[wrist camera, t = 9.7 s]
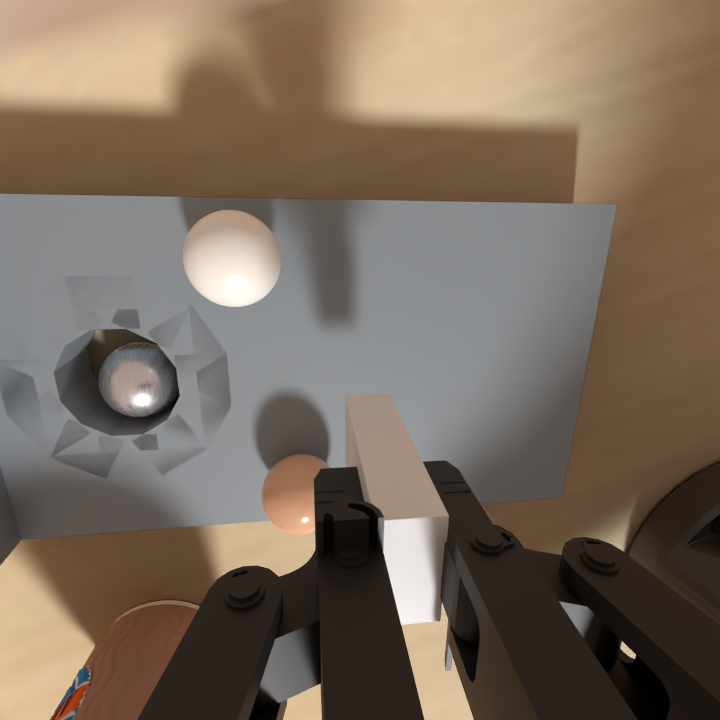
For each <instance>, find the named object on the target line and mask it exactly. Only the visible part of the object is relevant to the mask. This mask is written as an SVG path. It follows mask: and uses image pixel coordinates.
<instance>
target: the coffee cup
mask: <svg viewBox="0 0 720 720" xmlns="http://www.w3.org/2000/svg"><path fill="white" fill-rule="evenodd" d="M199 607H200V606H198V605H195V604H192V603H189V602H183V601H177V600H163V601H155V602H150V603H146V604H143V605H139V606H137V607H135V608H133V609H131V610H128V611H127V612H125V613H124V614H123V615H121V616H120V617H119V618H118V619H117V620H116V621H115V622H114V623H113V624H112V625H111V627H110V628H109V629H108V631H107V632H106V634H105V636H104V637H102V638H101V640H100V641H99V643H97V645H96V646H95V648H94V650H93V651H92V653H91V655H90V656H89V658H88V660H87V661H86V663H85V665H84V666H83V668H82V669H81V670H80V671H79V672H78V674H77V676H76V677H75V679H74V681H73V684H72V686H71V687H70V688H69V689H68V691H67V692H66V694H65V696H64V697H63V699H62V701H61V702H60V704H59V706H58V707H57V709H56V711H55V713H54V714H53V716H52V718H51V719H50V720H137V719H138V717H139V716H140V714H141V712H142V710H143V708H144V707H145V705H146V703H147V701H148V699H149V697H150V696H151V694H152V692H153V690H154V688H155V687H156V685H157V683H158V681H159V679H160V678H161V676H162V674H163V672H164V670H165V669H166V667H167V665H168V663H169V661H170V660H171V658H172V656H173V654H174V652H175V650H176V649H177V647H178V645H179V643H180V641H181V640H182V638H183V636H184V634H185V632H186V631H187V629H188V627H189V625H190V623H191V622H192V620H193V618H194V616H195V614H196V613H197V611H198V609H199Z"/></svg>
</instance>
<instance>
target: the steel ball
mask: <svg viewBox="0 0 720 720" xmlns="http://www.w3.org/2000/svg"><path fill="white" fill-rule="evenodd" d="M98 385H99V390H100V393H101V395H102V397H103V399H104V400H105V401H106V403H107V404H108V405H109V406H110V407H111V408H113V409H114V410H116V411H117V412H119V413H121V414H124V415H127V416H132V417H147V416H151V415H154V414H157V413H159V412H161V411H163V410H165V409H166V408H167V407H168V406H170V405H171V404H172V403H173V401H174V400H175V399H176V397H177V395H178V393H179V387H178V379H177V371H176V367H175V366H174V365H173V363H172V362H171V361H170V360H169V358H168V357H167V356H166V355H165V353H164V352H163V351H162V350H161V348H160V347H159V346H158V345H155V344H152V343H147V342H135V343H130V344H126V345H123V346H121V347H119V348H117V349H116V350H114V351H113V352H112V353H111V354H109V355H108V357H107V358H106V359H105V360H104V362H103V364H102V366H101V368H100V371H99V375H98Z"/></svg>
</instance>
